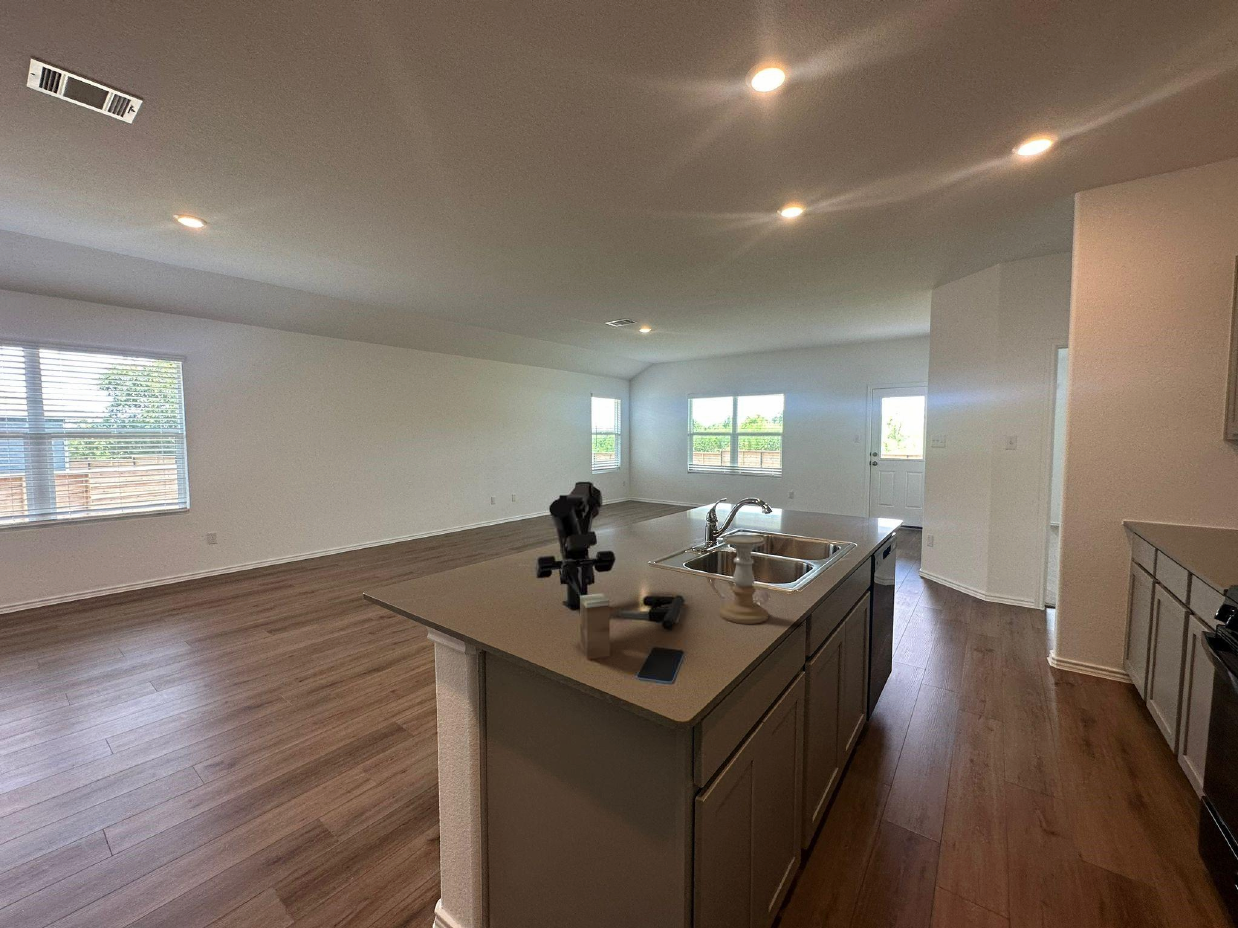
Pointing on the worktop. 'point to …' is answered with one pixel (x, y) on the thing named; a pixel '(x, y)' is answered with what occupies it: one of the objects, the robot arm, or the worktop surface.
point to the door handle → (658, 610)
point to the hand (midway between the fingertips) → (582, 595)
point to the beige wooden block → (595, 626)
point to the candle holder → (743, 583)
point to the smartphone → (661, 665)
